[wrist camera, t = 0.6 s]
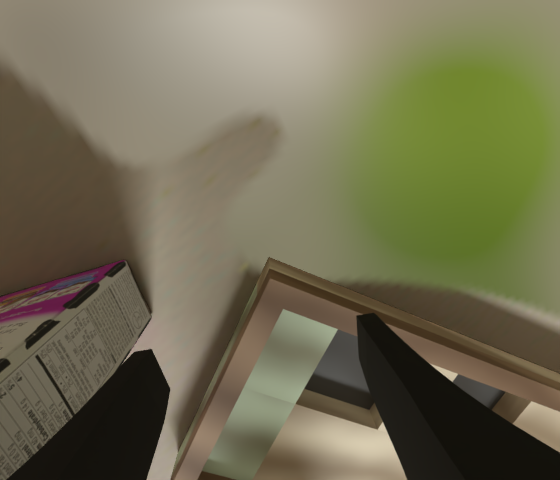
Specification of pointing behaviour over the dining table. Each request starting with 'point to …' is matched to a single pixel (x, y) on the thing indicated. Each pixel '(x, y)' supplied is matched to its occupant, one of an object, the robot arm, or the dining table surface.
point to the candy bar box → (61, 352)
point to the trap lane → (335, 387)
